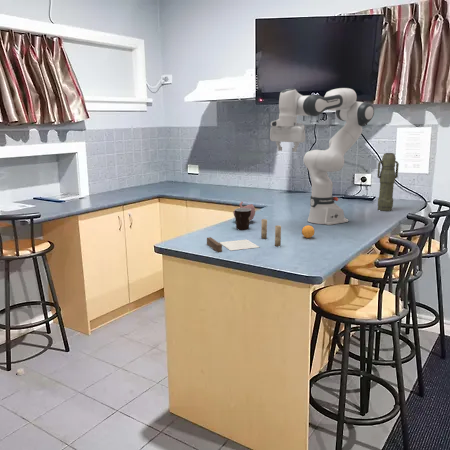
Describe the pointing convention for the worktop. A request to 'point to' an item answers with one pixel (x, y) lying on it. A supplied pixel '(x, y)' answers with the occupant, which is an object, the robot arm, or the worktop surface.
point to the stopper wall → (214, 244)
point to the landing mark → (239, 245)
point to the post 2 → (277, 235)
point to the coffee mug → (242, 218)
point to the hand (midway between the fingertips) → (287, 151)
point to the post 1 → (264, 229)
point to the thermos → (387, 181)
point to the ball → (308, 231)
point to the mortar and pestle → (248, 208)
